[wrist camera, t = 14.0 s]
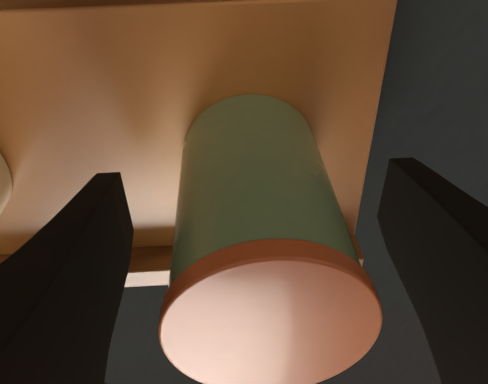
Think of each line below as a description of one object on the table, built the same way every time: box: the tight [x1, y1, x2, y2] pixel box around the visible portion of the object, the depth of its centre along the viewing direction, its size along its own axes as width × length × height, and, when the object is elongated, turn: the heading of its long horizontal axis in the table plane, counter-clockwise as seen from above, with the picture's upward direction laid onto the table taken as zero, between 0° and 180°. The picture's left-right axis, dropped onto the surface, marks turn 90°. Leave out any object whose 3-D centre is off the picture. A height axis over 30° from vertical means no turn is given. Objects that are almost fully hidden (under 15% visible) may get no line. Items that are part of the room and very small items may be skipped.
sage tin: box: [158, 94, 383, 384], centre depth 11 cm, size 4×4×6 cm
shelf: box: [0, 0, 397, 287], centre depth 14 cm, size 17×9×5 cm, turn 91°
